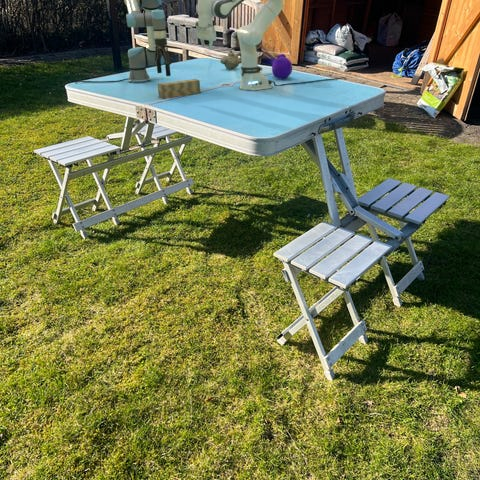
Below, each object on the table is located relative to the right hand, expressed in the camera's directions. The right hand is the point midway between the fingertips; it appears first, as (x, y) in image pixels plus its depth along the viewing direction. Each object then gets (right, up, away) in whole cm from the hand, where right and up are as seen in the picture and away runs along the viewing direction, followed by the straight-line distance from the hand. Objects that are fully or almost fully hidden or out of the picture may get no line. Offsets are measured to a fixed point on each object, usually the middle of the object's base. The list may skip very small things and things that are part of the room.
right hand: (207, 47), depth 290 cm
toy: (+50, -1, +51) cm, 71 cm away
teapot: (+15, +18, +85) cm, 88 cm away
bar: (-19, -29, +7) cm, 35 cm away
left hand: (-27, -19, -5) cm, 34 cm away
